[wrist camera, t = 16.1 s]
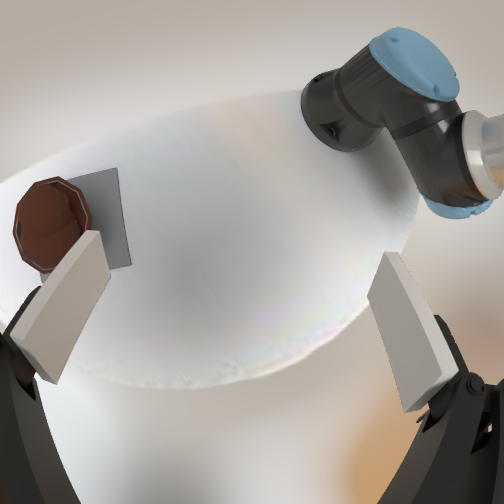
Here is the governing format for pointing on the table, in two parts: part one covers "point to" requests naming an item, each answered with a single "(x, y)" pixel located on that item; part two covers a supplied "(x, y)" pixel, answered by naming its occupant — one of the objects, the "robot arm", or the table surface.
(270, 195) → the table surface
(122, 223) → the slate mat
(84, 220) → the ice cream bowl
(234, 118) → the table surface
